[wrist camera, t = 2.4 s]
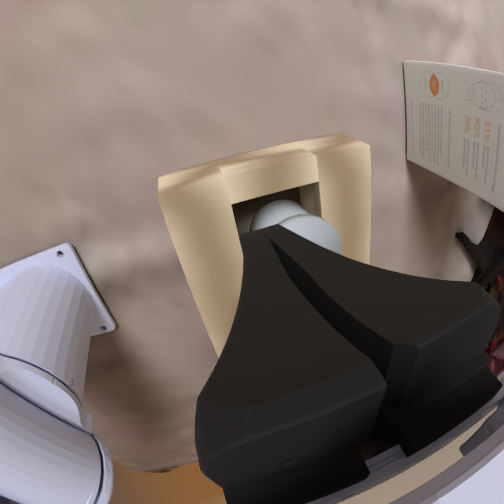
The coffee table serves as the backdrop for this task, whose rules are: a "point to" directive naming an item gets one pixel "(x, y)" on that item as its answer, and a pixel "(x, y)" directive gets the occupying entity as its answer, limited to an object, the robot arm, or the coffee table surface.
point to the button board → (251, 186)
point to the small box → (457, 125)
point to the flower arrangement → (491, 279)
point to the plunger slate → (298, 223)
